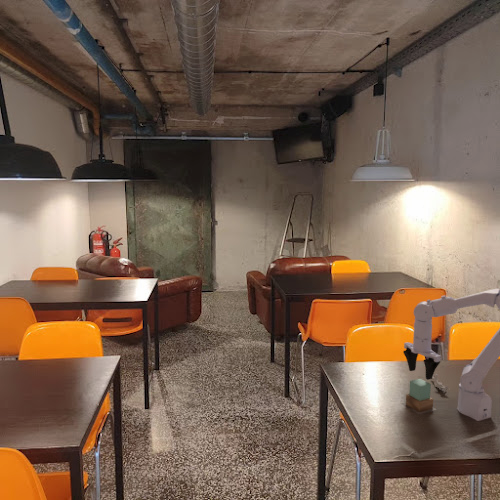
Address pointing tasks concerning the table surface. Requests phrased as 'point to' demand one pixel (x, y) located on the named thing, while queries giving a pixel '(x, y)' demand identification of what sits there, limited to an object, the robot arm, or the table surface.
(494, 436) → the table surface
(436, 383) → the soldier figure
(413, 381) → the teal block
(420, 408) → the walnut base block
